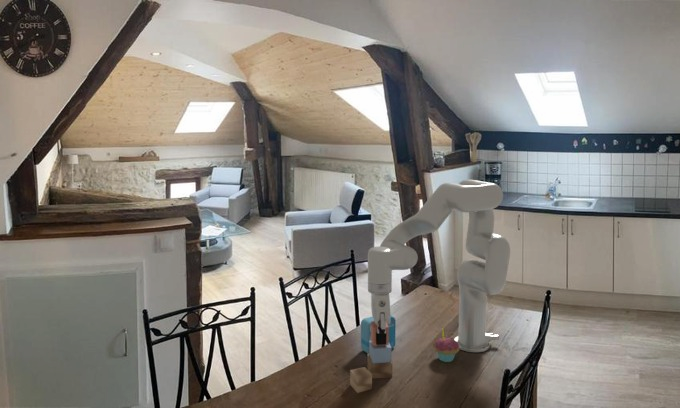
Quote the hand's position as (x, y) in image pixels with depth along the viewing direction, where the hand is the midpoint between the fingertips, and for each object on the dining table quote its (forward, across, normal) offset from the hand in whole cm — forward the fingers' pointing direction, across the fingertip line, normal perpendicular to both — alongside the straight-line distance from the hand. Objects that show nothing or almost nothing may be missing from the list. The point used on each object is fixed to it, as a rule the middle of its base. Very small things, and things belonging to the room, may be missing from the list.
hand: (379, 339), depth 159 cm
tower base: (+11, 0, 0) cm, 11 cm away
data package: (+12, +16, -2) cm, 20 cm away
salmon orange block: (+1, 0, 0) cm, 1 cm away
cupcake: (+12, +7, -24) cm, 27 cm away
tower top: (+6, 0, 0) cm, 6 cm away
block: (+11, -8, +7) cm, 16 cm away
